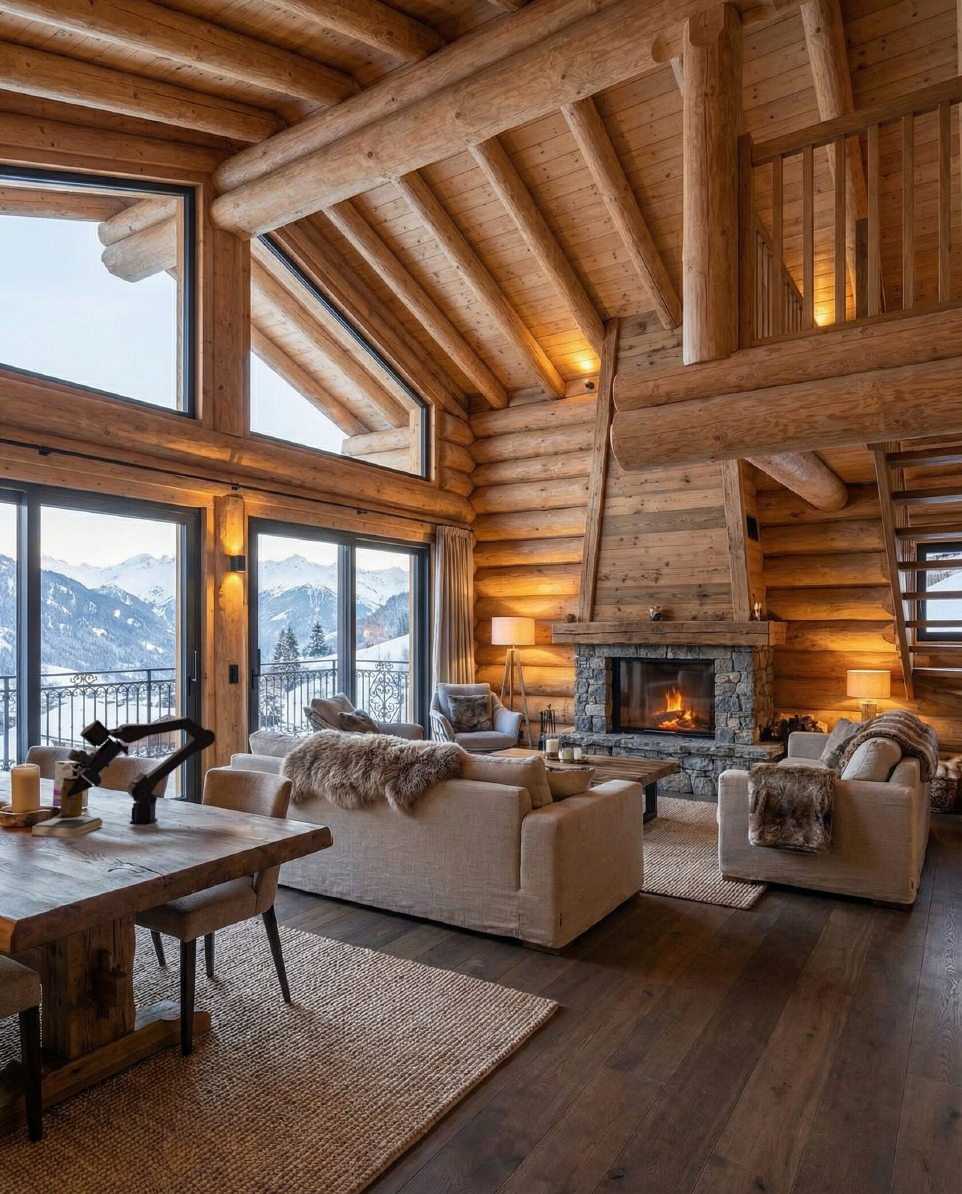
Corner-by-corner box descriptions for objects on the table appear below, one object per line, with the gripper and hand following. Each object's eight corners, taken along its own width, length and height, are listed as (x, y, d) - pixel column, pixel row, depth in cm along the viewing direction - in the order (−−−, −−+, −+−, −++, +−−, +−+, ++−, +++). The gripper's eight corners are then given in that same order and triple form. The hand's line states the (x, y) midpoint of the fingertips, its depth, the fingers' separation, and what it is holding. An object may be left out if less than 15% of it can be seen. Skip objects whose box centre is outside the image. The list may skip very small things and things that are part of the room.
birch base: (102, 826, 261) (102, 817, 261) (73, 837, 247) (74, 827, 247) (62, 824, 263) (62, 814, 263) (32, 834, 249) (32, 824, 249)
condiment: (86, 812, 259) (87, 775, 260) (77, 819, 251) (78, 780, 251) (62, 813, 258) (63, 775, 259) (52, 819, 250) (53, 780, 250)
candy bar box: (88, 808, 287) (90, 761, 288) (77, 811, 283) (79, 763, 283) (63, 805, 291) (64, 759, 291) (51, 808, 286) (53, 761, 287)
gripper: (79, 736, 266) (40, 773, 259) (91, 743, 251) (50, 782, 244) (104, 758, 270) (67, 795, 263) (117, 766, 255) (78, 806, 248)
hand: (65, 794), depth 255 cm, fingers closed on condiment, 6 cm apart
